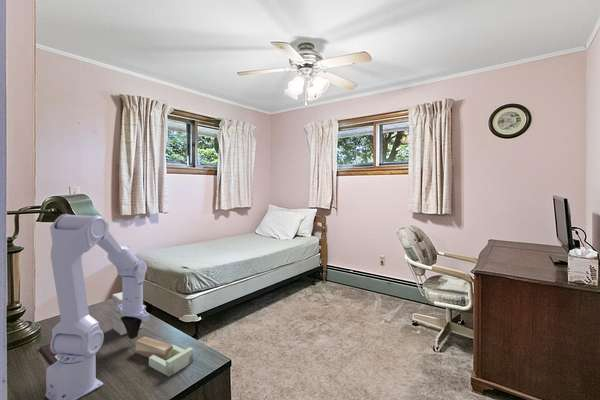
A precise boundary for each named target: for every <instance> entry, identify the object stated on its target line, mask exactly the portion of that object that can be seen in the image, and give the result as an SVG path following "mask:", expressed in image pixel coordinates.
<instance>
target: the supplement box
mask: <svg viewBox="0 0 600 400" xmlns="http://www.w3.org/2000/svg"><path fill="white" fill-rule="evenodd" d="M120 304H122V291H121V292H117V293H113V294H112V329H113V331H116V333H118V334H119V335H120V336H123V335H126V334H127V331H126V328H125V326H124V324H123V322H122V321H121V317H123V316H124V315H122V313H121V311H117V305H120ZM143 323H144V322H142V323H141V325H140V328H139V330H140V329H143V328H142V327H143V326H144V325H143Z"/></svg>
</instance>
